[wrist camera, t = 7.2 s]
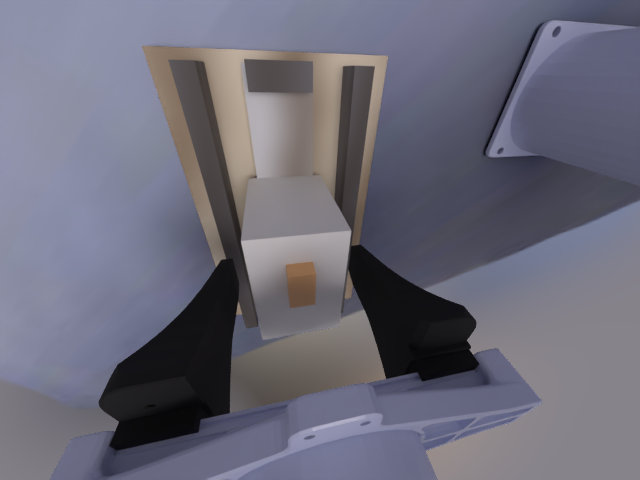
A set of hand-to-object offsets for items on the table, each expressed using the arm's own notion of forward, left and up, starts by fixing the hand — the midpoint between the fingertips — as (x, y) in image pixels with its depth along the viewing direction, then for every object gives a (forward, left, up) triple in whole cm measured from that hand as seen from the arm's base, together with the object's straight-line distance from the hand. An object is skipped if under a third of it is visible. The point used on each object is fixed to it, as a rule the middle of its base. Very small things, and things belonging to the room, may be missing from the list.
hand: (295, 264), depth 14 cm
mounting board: (0, 0, -6) cm, 6 cm away
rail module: (0, -1, -3) cm, 4 cm away
